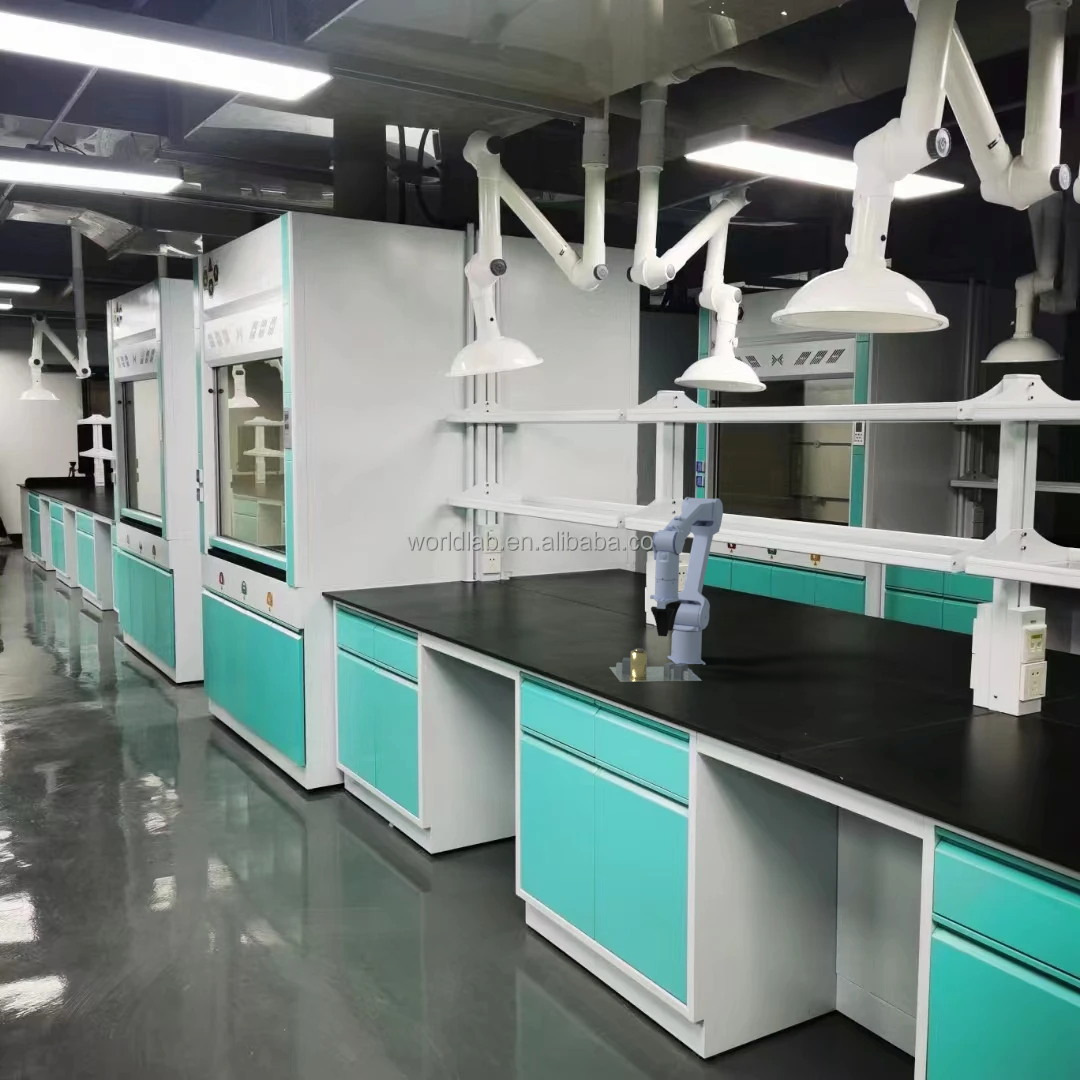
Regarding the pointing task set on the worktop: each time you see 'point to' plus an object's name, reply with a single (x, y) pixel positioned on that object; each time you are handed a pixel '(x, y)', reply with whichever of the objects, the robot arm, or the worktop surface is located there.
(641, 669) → the cylinder
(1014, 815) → the worktop surface
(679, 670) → the shaft rig
